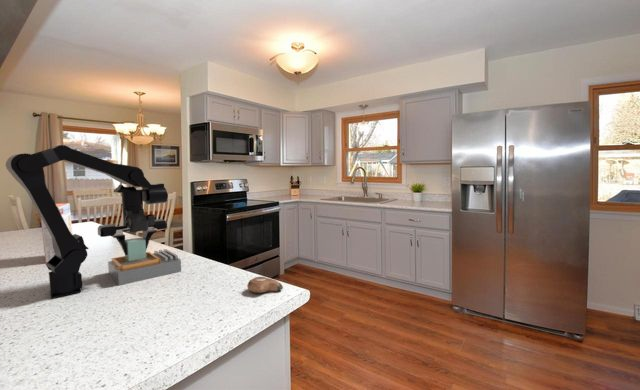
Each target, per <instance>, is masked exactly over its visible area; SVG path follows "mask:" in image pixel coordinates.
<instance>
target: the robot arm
mask: <svg viewBox="0 0 640 390" xmlns="http://www.w3.org/2000/svg"><path fill="white" fill-rule="evenodd" d="M61 161H63V162H66V163H68V164H72V165H74V166H75V165H76V166H78V167H81V168H85V169H89V170H91V171H94V172H98V173H101V174H104V175H106V176H107V177H110V178H111V179H113V180H115V181H117V182H119V183H121V184H119V185H117V187H116V188H115V189H113V193H116V194H117V193H118V194H119V193H120V194H121V205H122V206H121V207H122V209H121V210H122V221H123V222H122V225H117V226H116V225H114V224H111V223H109V224H103V225H99V226H98V227H97V235H98V236H100V237H101V238H104V237H105V238H106V237H112V238H113V239H116V240H117V242H118V243H119V245H120V247H121V249H122V252H123V253H124V256H125V255H127V248H126V242H125V240H126V235H125V234H124V232H129V231H130V232H131V233H137V232H142V238H143V239H145V241H146V250H147V248H148V247H149V246H148V245H149V242H150V240H151V238H152V236H153V235H154V234H155V233H158V230H166V229H168V223H167V221H166V220H165V219H162V218H157V219H156V218H155V214H153V213H151V214H145V210H144V202H145V204H146V205H157V204H166V203H167V202H168V199H169V193H168V191H167V189H166V187H165V183H155V184H154V183H153V184H151V183H150V181H149V180H148V179H147V178H146V177H145V174H144V172H143V169H141V168H140V167H137V166H133V165H128V164H121V163H115V162H111V161H108V160H105V159H103V158H100V157H97V156H94V155H91V154H88V153H85V152H82V151H80V150H77V149H74V148H71V147H69V146H68V145H65V144H60V145H55V146H52V147H51V148H48V149H45V150H40V151H38V152H34V153H17V154H14V155H11V156H10V157H8V158H7V160H6V161H5V167H6V169H7V171H8V173H10V174H11V176H12V178H13V179H14V180H16V181H17V183H18V184H19V185H20V186H21V187H22V188H24V190H25V192H26V193H27V194H28V197H29V198H30V200H31V202H32V204H33V205H34V207H35V209H36V211H37V214H38V215H39V216H40V219H41V218H42V220H43V222H44V224H45V226H46V227H47V229H48V231H49V233H50V235H51V237H52V243H53V249H54V252H55V255H54V256H53V257H52V258H51V259H50V260H49V261H48V262H47V263H45V266H46V268H47V269H48V271H49V272H48V281H49V296H50V299H56V298H60V297H65V296H68V295H74V294H79V293H82V288H83V278H82V277H83V276H82V275H83V274H82V273H81V272H80V268H81V266H82V263H84V262H85V261H86V259H87V257H88V250H89V247H88V246H87V245H86V243H85V240H84V237H83V236H82V235H79V234H76V233H72V234H73V235H72V234H71V232H70V231H69V229H68V227H67V225H66V223H65V221H64V219H63V218H62V216H61V214H60V212H59V210H58V208H57V206H56V204H57V203H55V201H54V198H53V196H52V195H51V193H50V190H49V189H48V187H47V184H46V176H45V175H46V174H45V171H44V168H45V167H48V166H51V165H54V164H56V163H58V162H59V163H60V162H61ZM123 184H124V185H130V186H124V185H123ZM137 188H141V189H137Z"/></svg>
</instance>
